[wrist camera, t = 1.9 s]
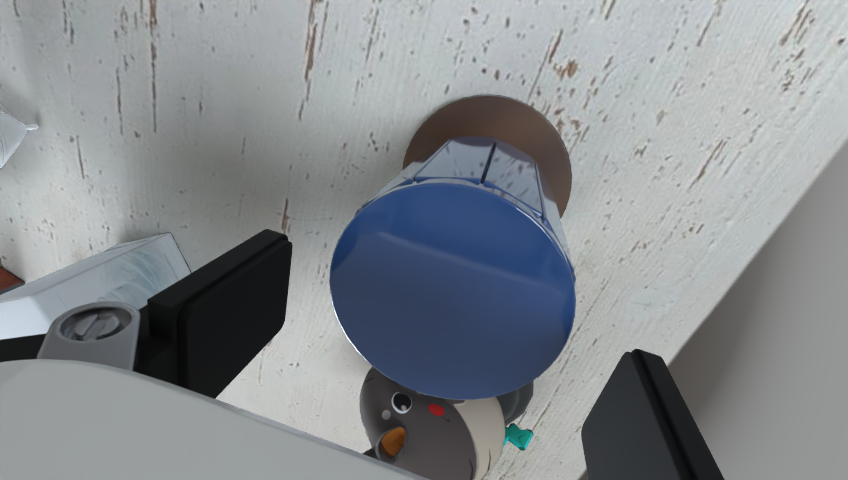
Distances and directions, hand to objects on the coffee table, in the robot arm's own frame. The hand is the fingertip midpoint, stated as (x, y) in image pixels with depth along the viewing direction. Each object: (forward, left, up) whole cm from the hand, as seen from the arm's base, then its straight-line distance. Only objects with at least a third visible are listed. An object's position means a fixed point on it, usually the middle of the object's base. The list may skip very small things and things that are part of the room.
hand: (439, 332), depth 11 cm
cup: (0, 0, -9) cm, 9 cm away
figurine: (+12, -9, -16) cm, 21 cm away
